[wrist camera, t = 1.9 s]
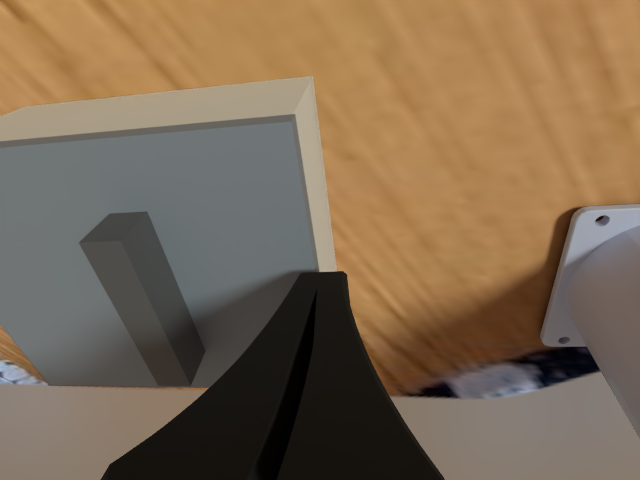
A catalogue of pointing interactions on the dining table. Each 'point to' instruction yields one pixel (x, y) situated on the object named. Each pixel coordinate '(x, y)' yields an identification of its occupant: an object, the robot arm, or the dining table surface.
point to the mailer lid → (150, 248)
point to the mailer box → (197, 109)
